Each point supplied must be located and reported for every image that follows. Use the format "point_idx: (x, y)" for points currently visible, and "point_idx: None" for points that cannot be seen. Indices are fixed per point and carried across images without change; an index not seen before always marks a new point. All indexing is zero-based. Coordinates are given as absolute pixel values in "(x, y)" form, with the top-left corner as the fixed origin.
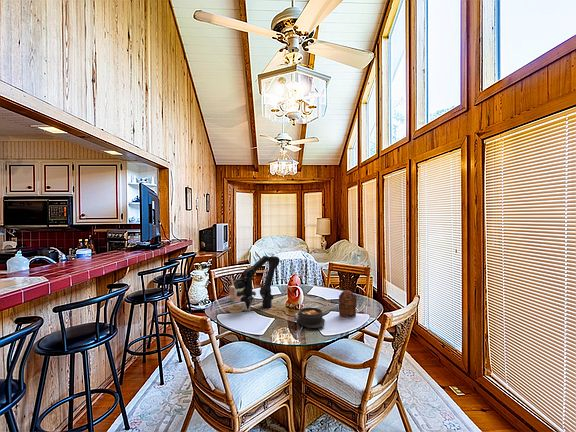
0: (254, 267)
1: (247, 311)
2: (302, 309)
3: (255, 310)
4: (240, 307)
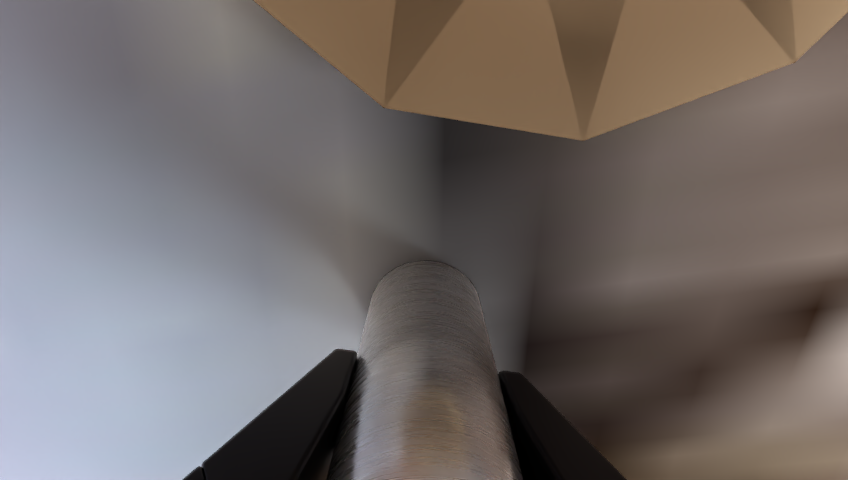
0: None
1: (373, 296)
2: None
3: None
4: (328, 57)
